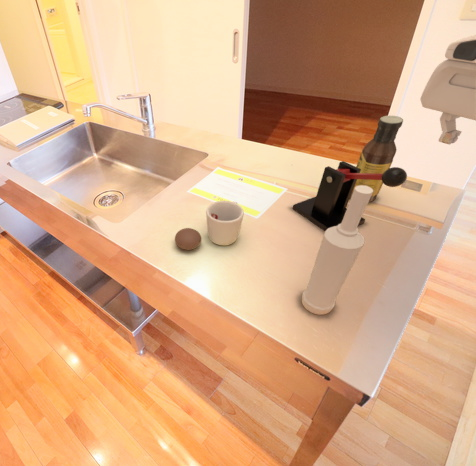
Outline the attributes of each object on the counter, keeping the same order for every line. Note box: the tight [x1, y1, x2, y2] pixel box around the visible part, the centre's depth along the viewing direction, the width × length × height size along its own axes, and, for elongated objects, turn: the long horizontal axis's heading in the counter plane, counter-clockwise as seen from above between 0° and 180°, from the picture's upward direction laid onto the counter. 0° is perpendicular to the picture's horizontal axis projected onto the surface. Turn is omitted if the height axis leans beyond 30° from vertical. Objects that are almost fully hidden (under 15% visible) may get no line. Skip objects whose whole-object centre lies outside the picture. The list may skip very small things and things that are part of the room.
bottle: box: [301, 185, 373, 316], centre depth 50 cm, size 5×5×25 cm
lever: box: [335, 166, 408, 188], centre depth 64 cm, size 14×4×4 cm, turn 21°
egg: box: [174, 227, 202, 251], centre depth 73 cm, size 6×6×4 cm
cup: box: [205, 200, 245, 246], centre depth 73 cm, size 11×8×8 cm
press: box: [292, 160, 366, 232], centre depth 72 cm, size 12×9×13 cm
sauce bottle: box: [350, 115, 404, 203], centre depth 73 cm, size 6×6×20 cm
